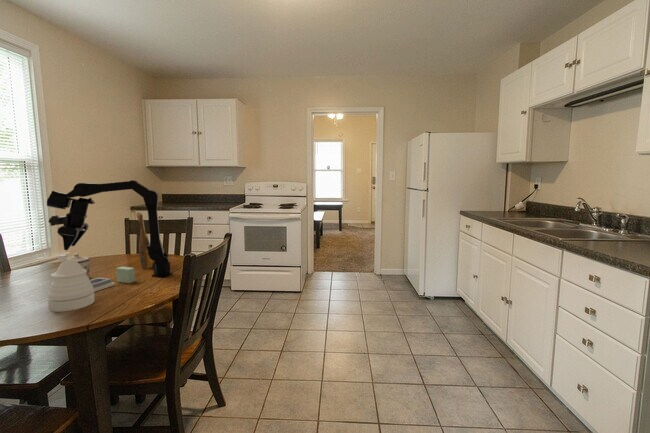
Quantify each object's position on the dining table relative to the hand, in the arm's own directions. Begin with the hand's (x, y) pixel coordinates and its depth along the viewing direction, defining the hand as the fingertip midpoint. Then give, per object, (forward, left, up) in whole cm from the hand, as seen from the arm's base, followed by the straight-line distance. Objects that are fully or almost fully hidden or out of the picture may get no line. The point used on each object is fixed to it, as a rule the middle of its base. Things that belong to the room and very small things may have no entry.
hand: (69, 247), depth 136 cm
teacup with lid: (+5, -6, -16) cm, 18 cm away
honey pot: (-23, +17, -16) cm, 33 cm away
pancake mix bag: (-5, -33, -16) cm, 37 cm away
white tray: (-13, +2, -15) cm, 21 cm away
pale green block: (-18, -10, -16) cm, 26 cm away
